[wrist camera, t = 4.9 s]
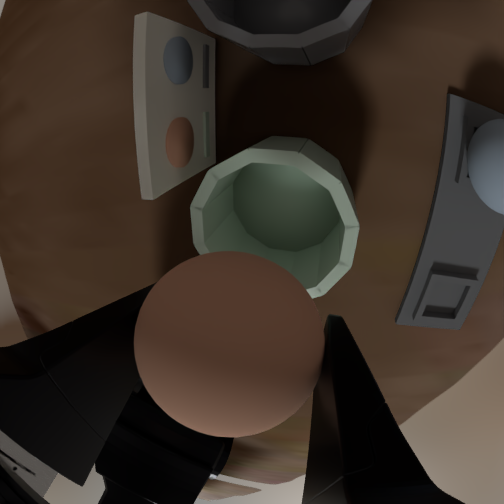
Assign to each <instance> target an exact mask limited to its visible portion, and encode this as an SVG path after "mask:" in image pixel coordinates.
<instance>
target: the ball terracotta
mask: <svg viewBox="0 0 504 504" xmlns="http://www.w3.org/2000/svg"><path fill="white" fill-rule="evenodd" d="M134 353H135V360H136V364H137V368H138V372H139V374H140V377H141V379H142V381H143V384H144V386H145V388H146V389H147V391H148V392H149V394H150V395H151V397H152V398H153V400H154V401H155V402H156V403H157V404H158V406H159V407H160V408H161V409H162V410H163V411H165V412H166V413H167V414H168V415H169V416H170V417H171V418H173V419H174V420H176V421H177V422H179V423H181V424H182V425H184V426H186V427H188V428H190V429H193V430H195V431H198V432H201V433H204V434H207V435H212V436H219V437H242V436H249V435H254V434H257V433H260V432H263V431H266V430H269V429H271V428H273V427H275V426H277V425H278V424H280V423H282V422H284V421H285V420H286V419H288V418H289V417H290V416H291V415H293V414H294V413H295V412H296V411H297V410H298V409H299V408H300V407H301V406H302V405H303V404H304V402H305V401H306V400H307V399H308V397H309V396H310V394H311V393H312V391H313V389H314V387H315V385H316V383H317V381H318V378H319V376H320V374H321V369H322V365H323V360H324V354H325V336H324V331H323V325H322V320H321V317H320V315H319V312H318V310H317V307H316V305H315V303H314V301H313V299H312V298H311V296H310V294H309V293H308V292H307V290H306V289H305V288H304V287H303V285H302V284H301V283H300V282H299V281H298V280H297V279H296V278H295V277H294V276H293V275H292V274H291V273H289V272H288V271H287V270H286V269H284V268H283V267H281V266H279V265H278V264H276V263H274V262H272V261H270V260H268V259H266V258H263V257H260V256H257V255H254V254H250V253H245V252H238V251H219V252H212V253H206V254H203V255H199V256H196V257H193V258H191V259H188V260H186V261H184V262H182V263H181V264H179V265H177V266H176V267H174V268H173V269H171V270H170V271H169V272H167V273H166V274H165V275H164V276H163V277H162V278H161V279H160V280H159V281H158V282H157V283H156V284H155V285H154V287H153V288H152V289H151V291H150V292H149V293H148V295H147V297H146V299H145V301H144V303H143V305H142V307H141V309H140V312H139V315H138V319H137V322H136V326H135V334H134Z"/></svg>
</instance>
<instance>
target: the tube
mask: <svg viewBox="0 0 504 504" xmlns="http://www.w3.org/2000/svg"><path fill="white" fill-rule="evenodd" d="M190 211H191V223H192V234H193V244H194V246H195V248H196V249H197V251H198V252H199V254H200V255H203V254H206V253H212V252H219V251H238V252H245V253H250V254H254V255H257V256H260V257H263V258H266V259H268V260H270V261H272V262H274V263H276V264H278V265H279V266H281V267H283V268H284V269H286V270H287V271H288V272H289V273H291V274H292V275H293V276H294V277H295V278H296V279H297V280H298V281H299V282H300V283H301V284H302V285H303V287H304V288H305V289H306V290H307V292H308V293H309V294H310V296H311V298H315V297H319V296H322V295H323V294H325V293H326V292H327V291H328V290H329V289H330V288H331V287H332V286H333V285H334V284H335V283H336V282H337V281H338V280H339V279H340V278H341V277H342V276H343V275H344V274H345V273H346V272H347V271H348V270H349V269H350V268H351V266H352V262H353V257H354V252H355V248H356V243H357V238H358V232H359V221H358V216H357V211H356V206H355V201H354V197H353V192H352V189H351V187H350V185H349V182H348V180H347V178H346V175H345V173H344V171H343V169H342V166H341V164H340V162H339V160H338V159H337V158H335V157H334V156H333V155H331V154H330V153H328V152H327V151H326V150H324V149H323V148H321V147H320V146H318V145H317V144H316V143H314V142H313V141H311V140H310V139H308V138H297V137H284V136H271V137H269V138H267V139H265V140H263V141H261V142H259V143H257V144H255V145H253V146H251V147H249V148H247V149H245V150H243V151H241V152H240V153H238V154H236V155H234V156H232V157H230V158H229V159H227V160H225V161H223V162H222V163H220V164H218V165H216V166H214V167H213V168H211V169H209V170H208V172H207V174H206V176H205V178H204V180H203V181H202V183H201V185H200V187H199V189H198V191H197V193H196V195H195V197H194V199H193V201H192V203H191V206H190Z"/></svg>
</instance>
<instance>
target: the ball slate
mask: <svg viewBox="0 0 504 504" xmlns="http://www.w3.org/2000/svg"><path fill="white" fill-rule="evenodd" d="M467 168H468V174H469V177H470V180H471V183H472V185H473V188H474V189H475V191H476V193H477V194H478V196H479V197H480V199H481V200H482V201H483V202H484V203H485V204H486V205H487V206H488V207H490V208H491V209H493V210H494V211H496V212H498V213H501V214H503V215H504V119H495V120H490V121H488V122H486V123H485V124H483V125H482V126H480V127H479V128H478V129H477V131H476V132H475V133H474V135H473V137H472V138H471V141H470V143H469V147H468V152H467Z"/></svg>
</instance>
